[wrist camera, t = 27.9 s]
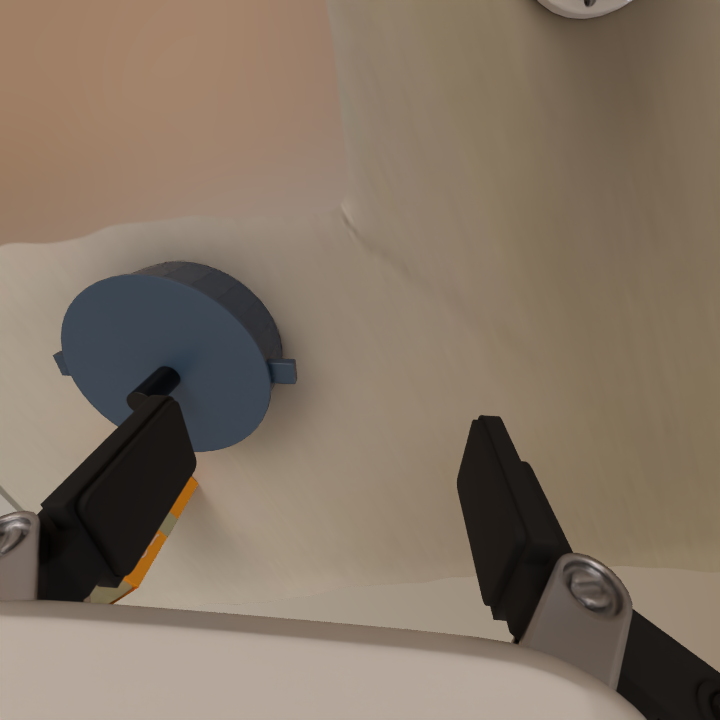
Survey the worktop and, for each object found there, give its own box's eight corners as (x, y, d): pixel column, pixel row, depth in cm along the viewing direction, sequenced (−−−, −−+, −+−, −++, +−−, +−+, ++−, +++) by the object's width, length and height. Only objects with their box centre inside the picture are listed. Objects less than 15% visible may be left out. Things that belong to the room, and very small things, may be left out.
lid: (33, 268, 29) (-36, 287, 24) (259, 274, 29) (235, 295, 24) (111, 441, 39) (73, 479, 34) (282, 448, 38) (268, 489, 34)
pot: (65, 258, 35) (4, 274, 29) (299, 264, 34) (283, 282, 28) (124, 406, 44) (87, 440, 38) (309, 413, 43) (299, 450, 38)
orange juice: (118, 463, 49) (-23, 622, 32) (166, 448, 47) (43, 608, 30) (153, 497, 53) (42, 658, 35) (199, 484, 51) (106, 647, 33)
